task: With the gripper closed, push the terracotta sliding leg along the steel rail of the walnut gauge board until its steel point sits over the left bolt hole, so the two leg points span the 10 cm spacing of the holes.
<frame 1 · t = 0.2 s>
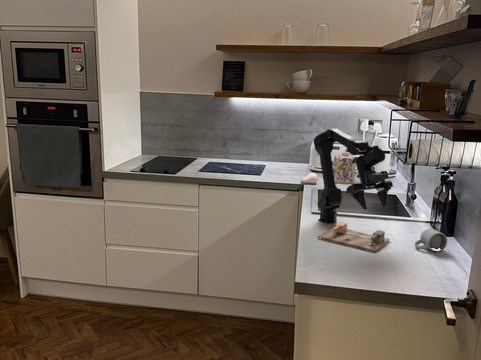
hand: (375, 208, 187), 15 cm above the worktop, tool tilted 30°, fingers open, 9 cm apart
sliding leg: (338, 228, 198), point 3 cm above the worktop, slide at 0.0 cm
decorative jar: (342, 181, 297), on the worktop
light bulb: (308, 184, 288), on the worktop
gauge board: (353, 239, 194), on the worktop
ceramic mug: (428, 249, 187), on the worktop
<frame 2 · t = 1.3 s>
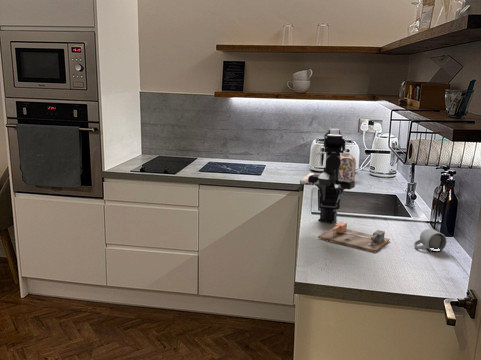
hand: (329, 201, 201), 13 cm above the worktop, tool pointing down, fingers open, 6 cm apart
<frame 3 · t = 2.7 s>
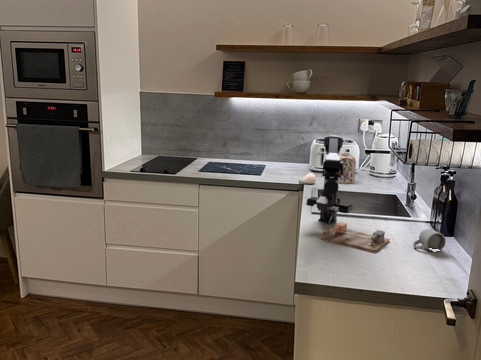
hand: (327, 224, 203), 3 cm above the worktop, tool pointing down, fingers closed
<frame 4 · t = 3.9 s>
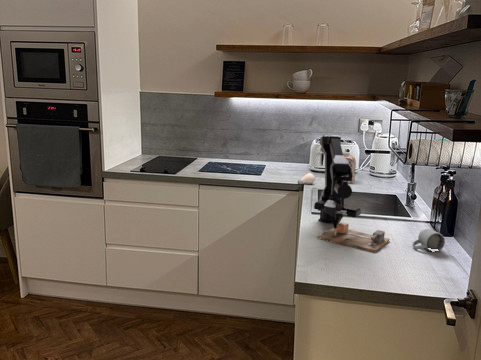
hand: (335, 228, 201), 2 cm above the worktop, tool pointing down, fingers closed
sliding leg: (340, 229, 197), point 3 cm above the worktop, slide at 0.7 cm, touching gripper
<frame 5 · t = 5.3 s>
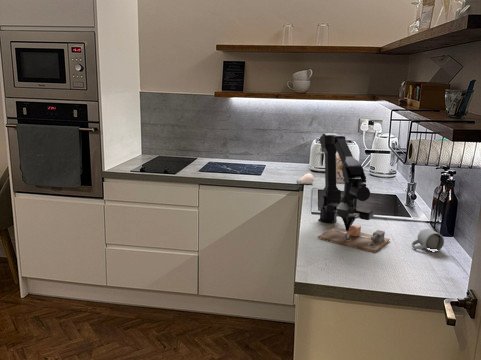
hand: (347, 231, 198), 2 cm above the worktop, tool pointing down, fingers closed
sliding leg: (352, 232, 194), point 3 cm above the worktop, slide at 6.0 cm, touching gripper
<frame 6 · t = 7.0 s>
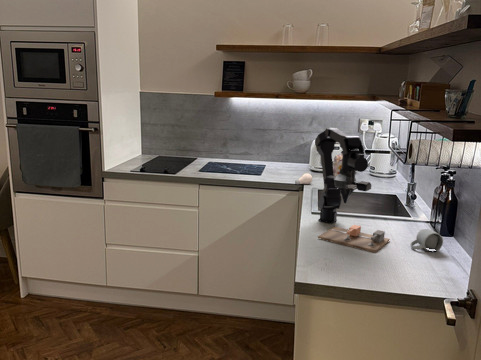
hand: (345, 203, 200), 13 cm above the worktop, tool pointing down, fingers closed
sliding leg: (352, 232, 194), point 3 cm above the worktop, slide at 6.0 cm
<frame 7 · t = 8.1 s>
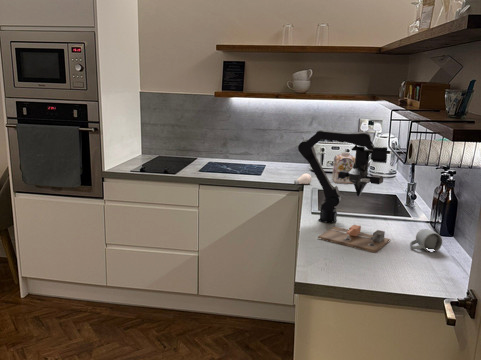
hand: (358, 196, 211), 13 cm above the worktop, tool pointing down, fingers closed
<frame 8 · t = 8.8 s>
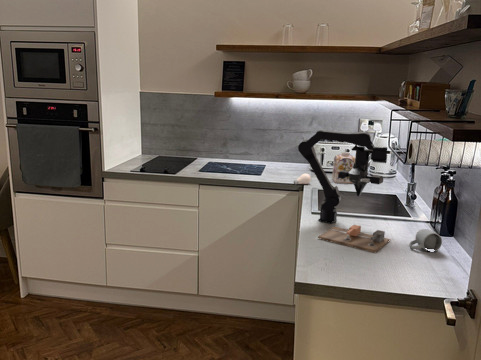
hand: (358, 196, 211), 13 cm above the worktop, tool pointing down, fingers closed
at the end: sliding leg slide at 6.0 cm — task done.
